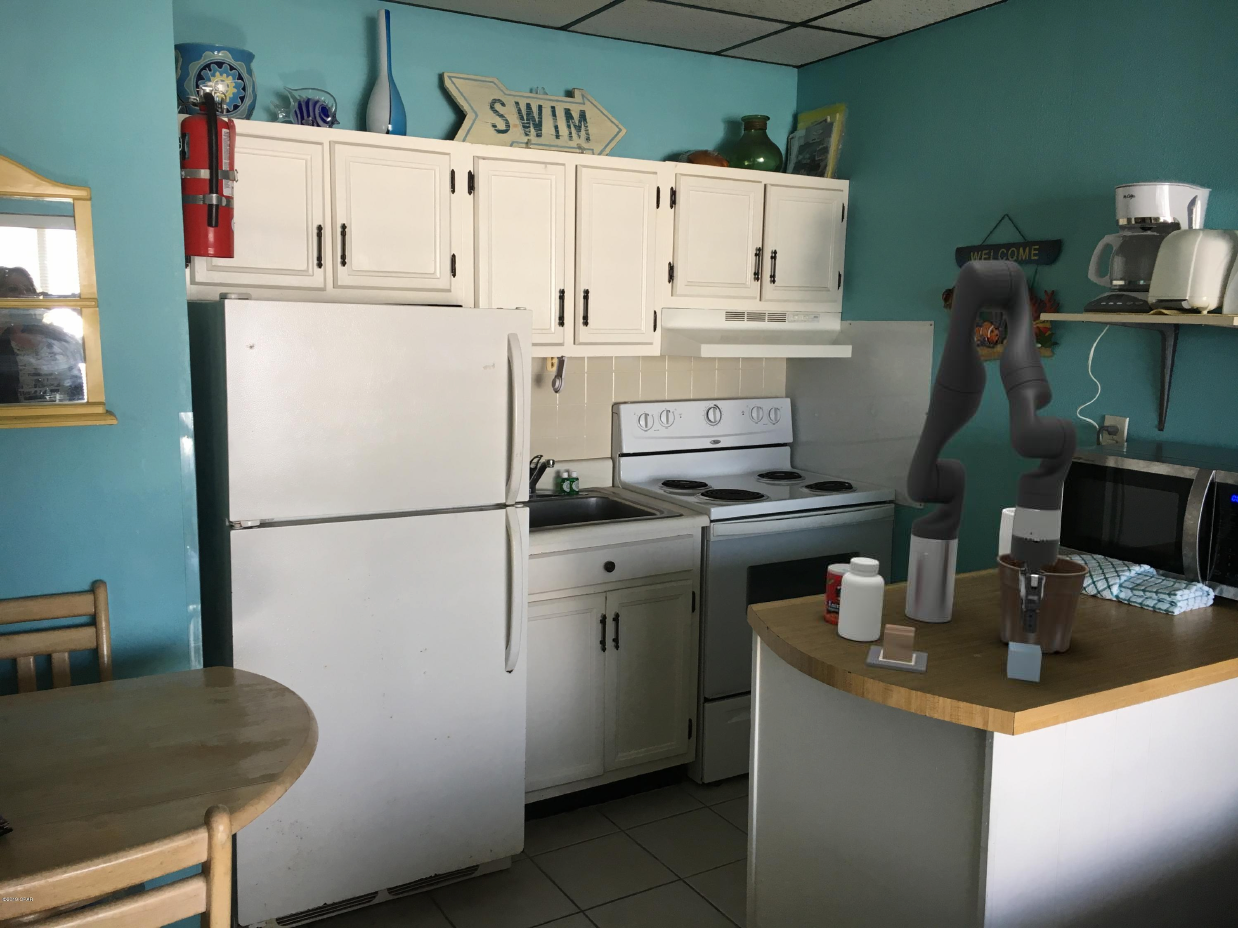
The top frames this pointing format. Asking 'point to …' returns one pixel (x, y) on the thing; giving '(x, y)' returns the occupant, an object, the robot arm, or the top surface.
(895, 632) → the walnut block
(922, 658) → the mat
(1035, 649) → the blue block
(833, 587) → the canned food
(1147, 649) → the top surface
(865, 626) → the pill bottle
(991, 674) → the top surface
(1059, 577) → the plant pot
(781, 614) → the top surface
